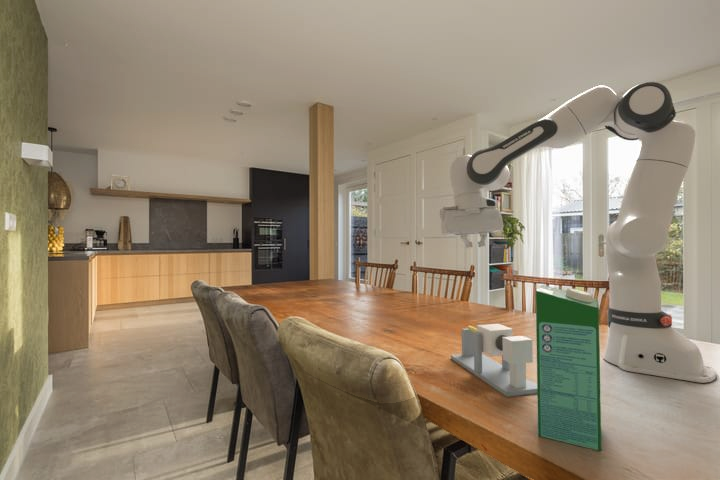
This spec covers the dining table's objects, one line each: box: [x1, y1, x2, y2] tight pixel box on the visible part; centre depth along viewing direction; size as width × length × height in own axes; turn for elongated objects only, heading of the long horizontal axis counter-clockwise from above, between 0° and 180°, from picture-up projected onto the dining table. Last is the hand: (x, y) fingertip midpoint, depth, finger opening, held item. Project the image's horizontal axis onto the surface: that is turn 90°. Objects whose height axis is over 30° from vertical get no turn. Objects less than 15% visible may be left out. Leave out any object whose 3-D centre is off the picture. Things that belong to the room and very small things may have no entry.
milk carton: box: [535, 284, 602, 452], centre depth 64 cm, size 9×9×25 cm
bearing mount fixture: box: [450, 325, 537, 398], centre depth 92 cm, size 26×9×12 cm, turn 12°
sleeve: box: [476, 323, 514, 357], centre depth 90 cm, size 6×6×6 cm
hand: (475, 247), depth 116 cm, fingers open, 3 cm apart
